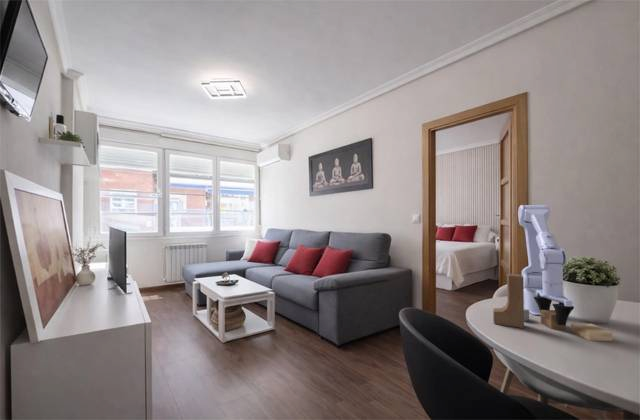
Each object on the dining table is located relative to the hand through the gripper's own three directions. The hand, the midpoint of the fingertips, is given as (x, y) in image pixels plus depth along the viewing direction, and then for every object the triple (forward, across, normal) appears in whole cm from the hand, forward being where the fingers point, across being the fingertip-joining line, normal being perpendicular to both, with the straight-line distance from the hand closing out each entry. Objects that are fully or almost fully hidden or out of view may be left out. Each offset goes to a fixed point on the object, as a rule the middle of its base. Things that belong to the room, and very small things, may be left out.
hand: (553, 320), depth 103 cm
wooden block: (+2, -1, -15) cm, 15 cm away
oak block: (+2, +8, +6) cm, 10 cm away
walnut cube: (+2, 0, 0) cm, 2 cm away
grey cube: (+2, -7, -7) cm, 10 cm away
